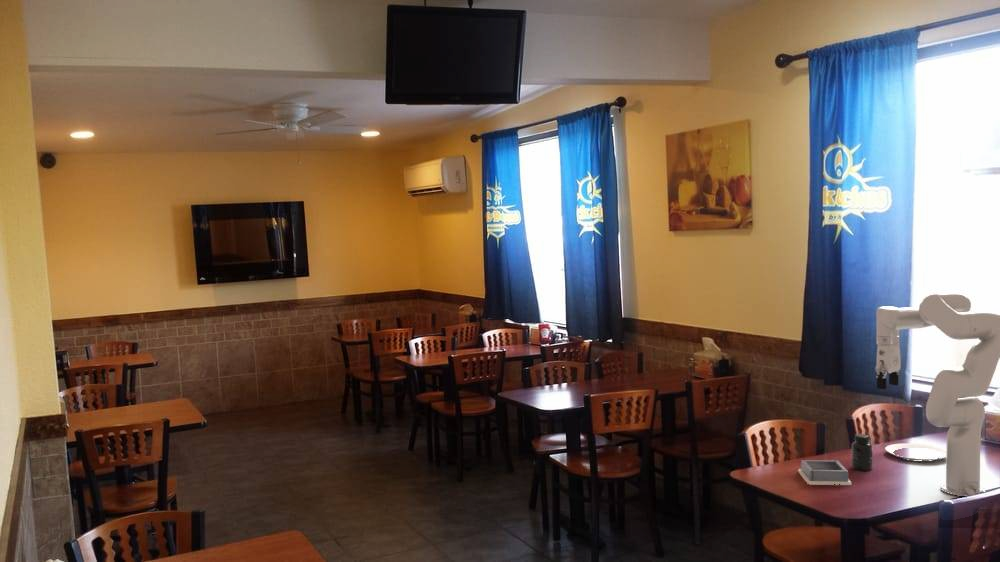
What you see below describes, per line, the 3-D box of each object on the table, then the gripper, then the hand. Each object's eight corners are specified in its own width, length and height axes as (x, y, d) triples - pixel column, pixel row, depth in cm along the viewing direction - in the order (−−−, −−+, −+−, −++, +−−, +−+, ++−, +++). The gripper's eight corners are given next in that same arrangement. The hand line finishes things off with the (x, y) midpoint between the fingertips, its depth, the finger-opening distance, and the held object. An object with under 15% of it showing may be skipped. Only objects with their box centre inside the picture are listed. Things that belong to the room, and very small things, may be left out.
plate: (884, 461, 297) (884, 455, 297) (886, 446, 315) (886, 441, 315) (948, 467, 287) (948, 461, 287) (947, 452, 306) (947, 446, 305)
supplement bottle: (875, 471, 285) (876, 437, 284) (856, 471, 285) (856, 438, 284) (867, 465, 292) (867, 432, 291) (848, 465, 292) (848, 433, 291)
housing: (851, 485, 271) (851, 472, 271) (808, 484, 273) (808, 471, 273) (839, 472, 285) (839, 459, 285) (798, 471, 287) (798, 459, 286)
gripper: (887, 344, 286) (887, 391, 287) (908, 338, 297) (908, 384, 298) (866, 342, 292) (866, 389, 293) (888, 337, 303) (888, 382, 304)
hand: (887, 386), depth 296 cm, fingers open, 9 cm apart
